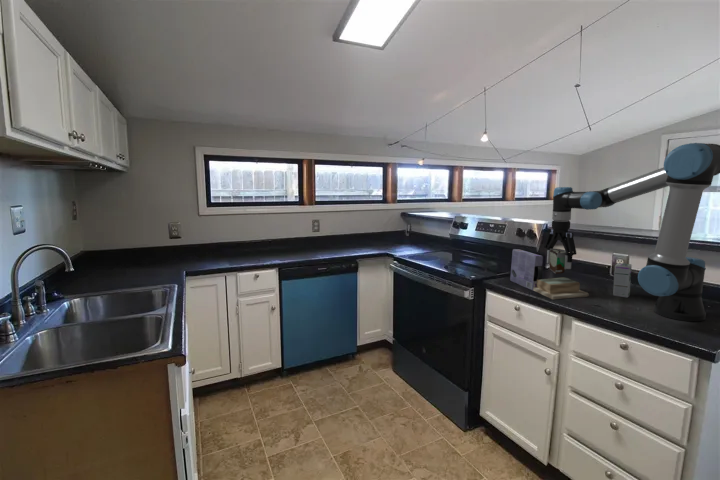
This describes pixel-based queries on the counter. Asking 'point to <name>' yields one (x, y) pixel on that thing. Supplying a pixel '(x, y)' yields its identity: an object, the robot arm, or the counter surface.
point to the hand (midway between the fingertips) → (558, 265)
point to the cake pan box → (526, 268)
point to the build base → (562, 295)
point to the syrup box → (622, 280)
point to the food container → (557, 260)
